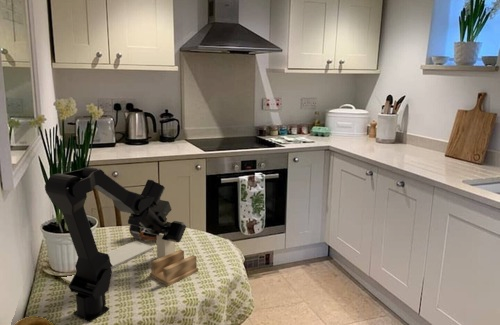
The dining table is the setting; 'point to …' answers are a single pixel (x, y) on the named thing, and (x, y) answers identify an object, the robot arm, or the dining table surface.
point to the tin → (143, 237)
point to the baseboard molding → (122, 255)
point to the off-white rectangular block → (164, 247)
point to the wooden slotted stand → (173, 267)
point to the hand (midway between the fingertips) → (168, 237)
